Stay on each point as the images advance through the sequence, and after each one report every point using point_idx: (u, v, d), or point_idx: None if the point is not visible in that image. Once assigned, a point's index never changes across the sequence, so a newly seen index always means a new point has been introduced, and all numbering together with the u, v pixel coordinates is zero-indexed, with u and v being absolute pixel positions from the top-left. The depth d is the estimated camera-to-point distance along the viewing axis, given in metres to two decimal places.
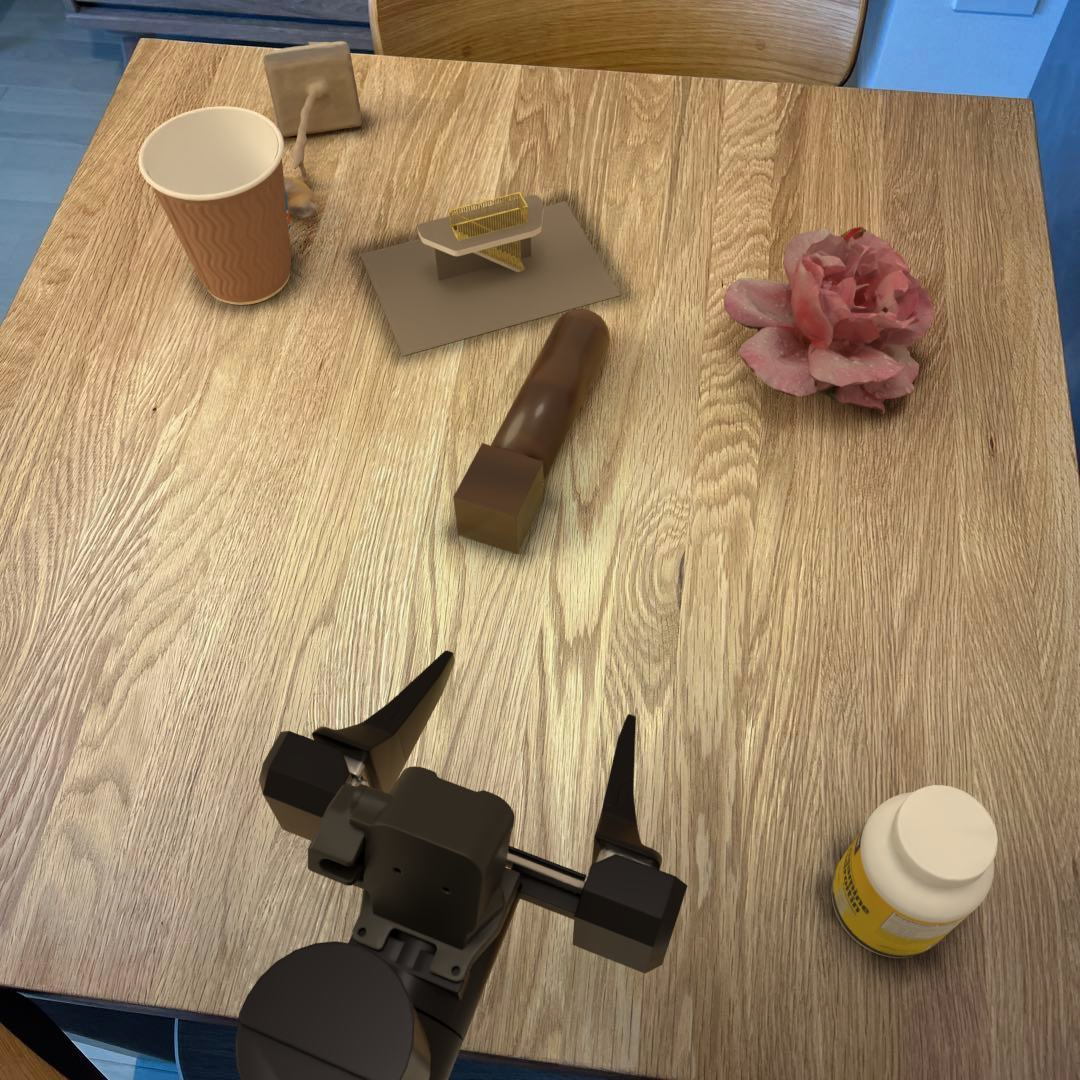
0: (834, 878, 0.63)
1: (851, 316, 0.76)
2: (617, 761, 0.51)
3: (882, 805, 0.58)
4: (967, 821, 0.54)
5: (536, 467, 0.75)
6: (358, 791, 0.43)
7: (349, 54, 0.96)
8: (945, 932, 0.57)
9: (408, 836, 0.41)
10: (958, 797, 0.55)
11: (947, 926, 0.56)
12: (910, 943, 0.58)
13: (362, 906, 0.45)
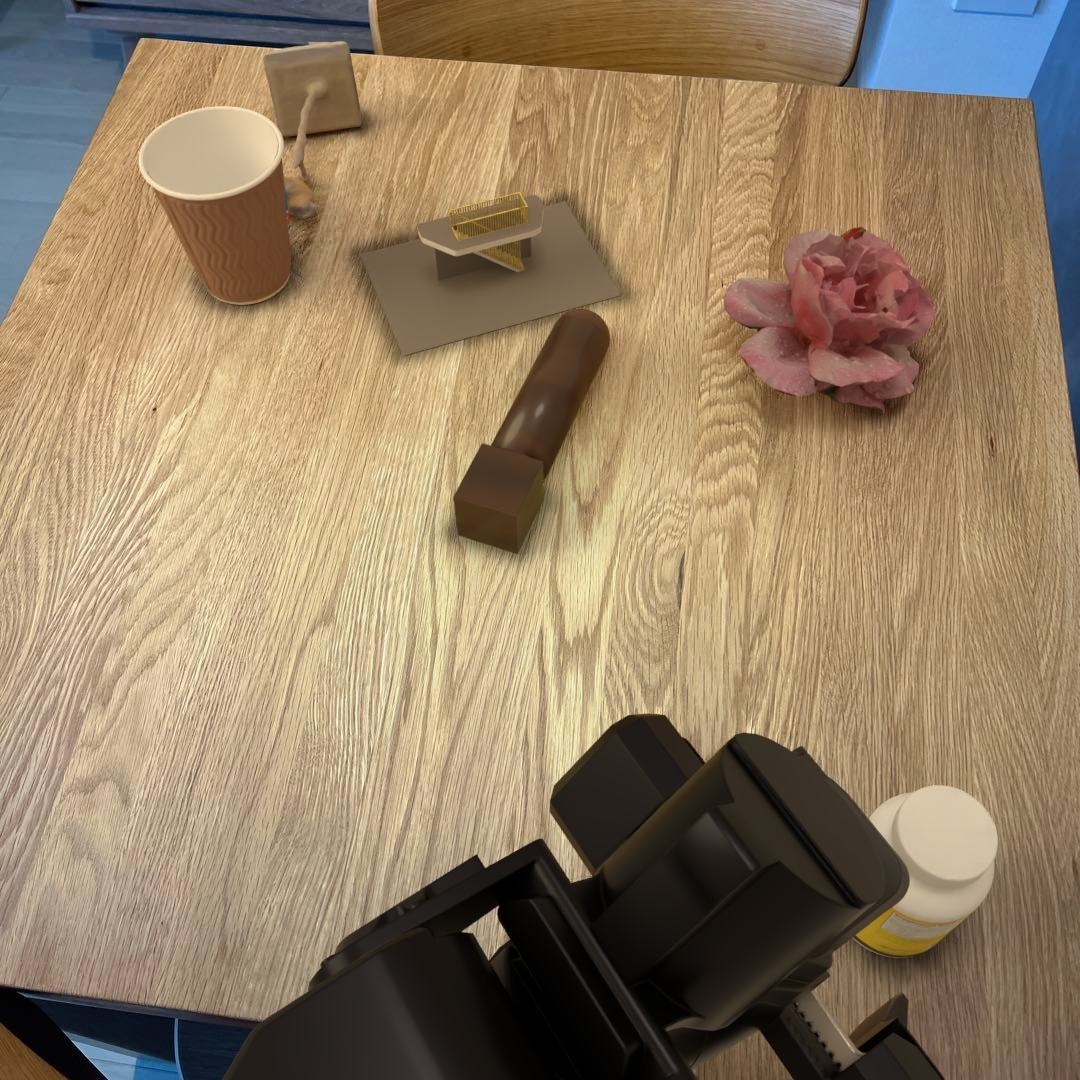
0: None
1: (851, 316, 0.76)
2: (894, 1008, 0.45)
3: (882, 805, 0.58)
4: (967, 821, 0.54)
5: (536, 467, 0.75)
6: (804, 749, 0.40)
7: (349, 54, 0.96)
8: (945, 932, 0.57)
9: (848, 805, 0.38)
10: (959, 797, 0.55)
11: (947, 926, 0.56)
12: (910, 943, 0.58)
13: None
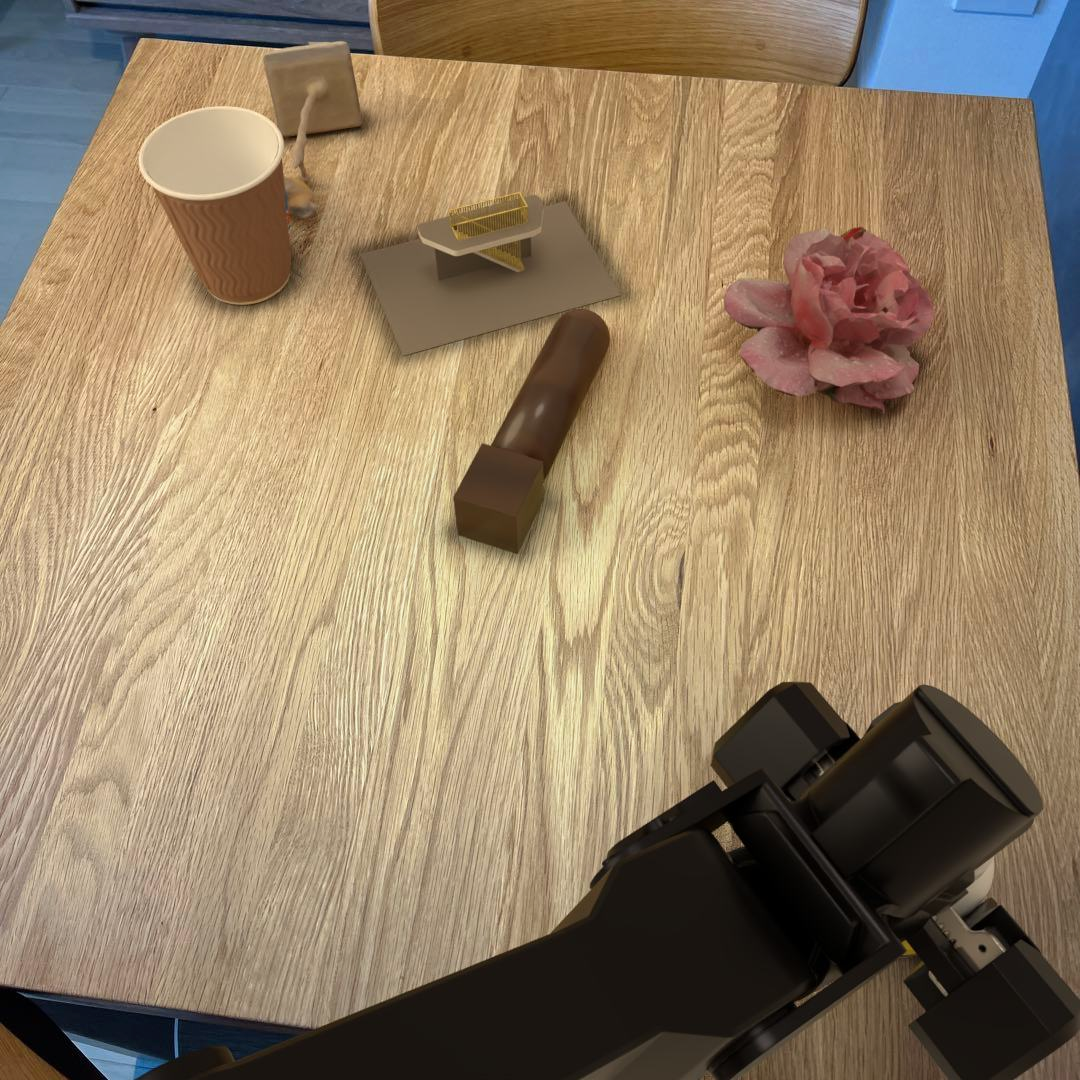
0: None
1: (851, 316, 0.76)
2: (989, 906, 0.54)
3: None
4: None
5: (536, 467, 0.75)
6: None
7: (349, 54, 0.96)
8: (945, 932, 0.57)
9: None
10: None
11: None
12: None
13: None
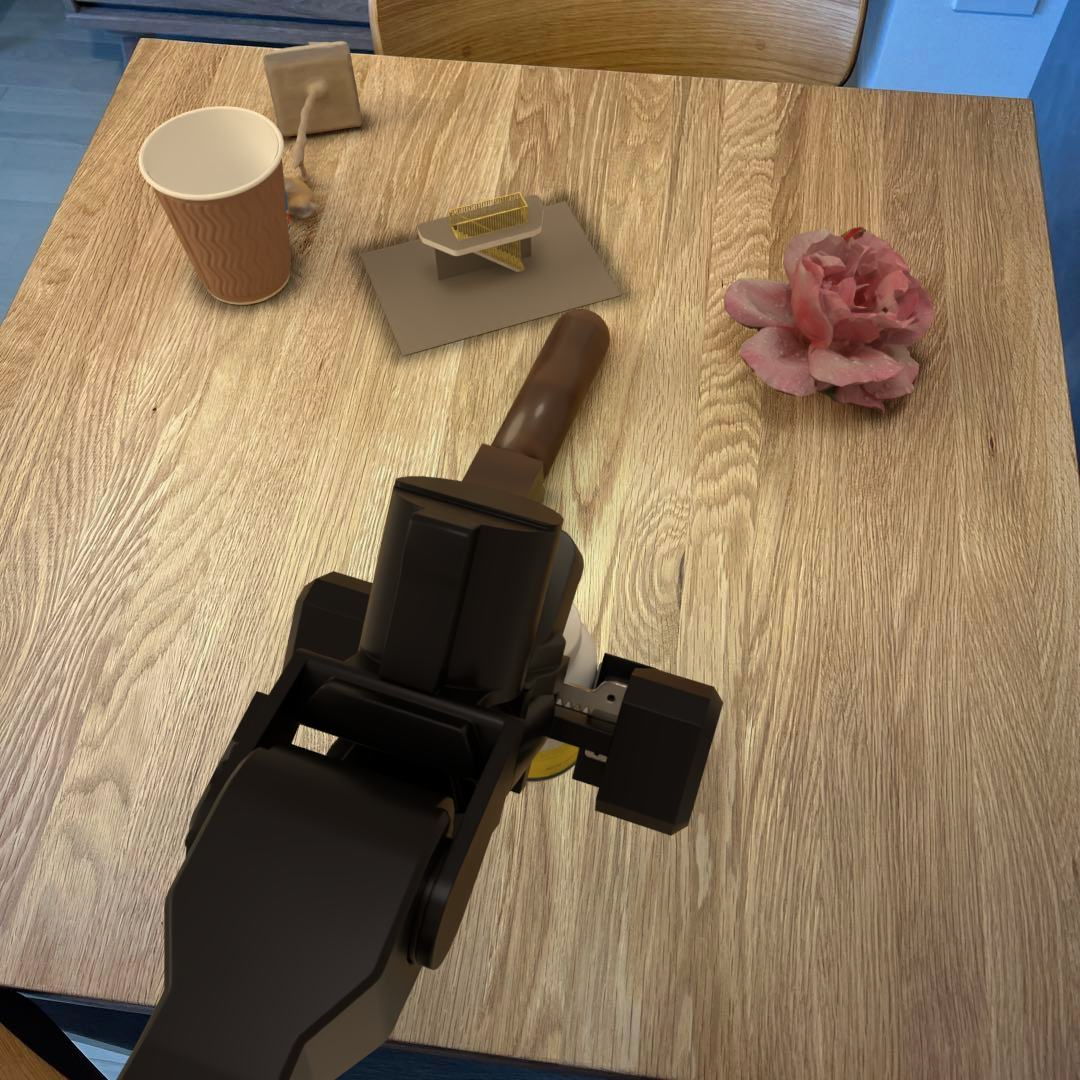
0: None
1: (851, 316, 0.76)
2: None
3: None
4: None
5: (536, 467, 0.75)
6: None
7: (349, 54, 0.96)
8: None
9: None
10: None
11: (584, 709, 0.55)
12: (567, 748, 0.57)
13: None
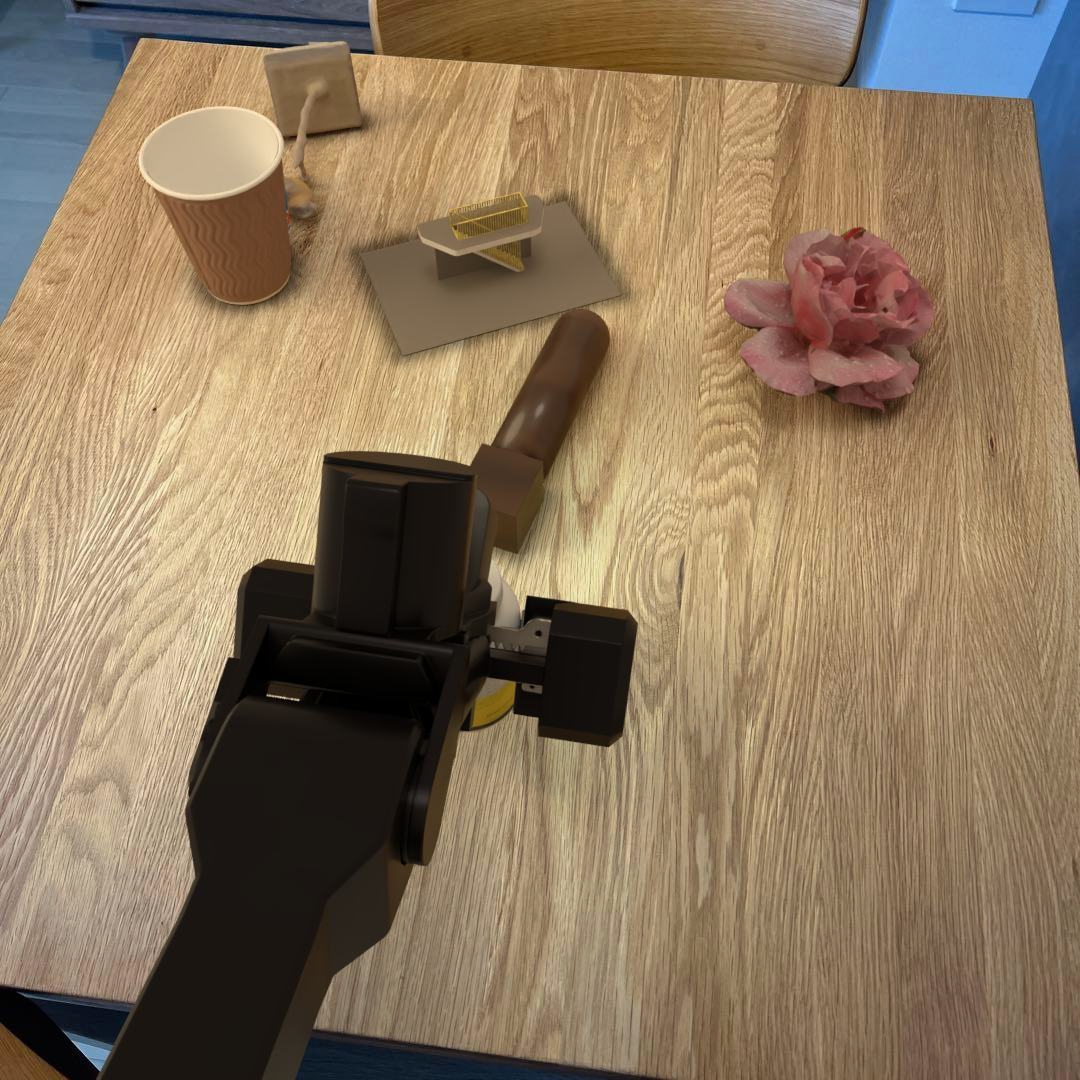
0: None
1: (851, 316, 0.76)
2: None
3: None
4: None
5: (536, 467, 0.75)
6: None
7: (349, 54, 0.96)
8: None
9: None
10: None
11: None
12: (503, 693, 0.62)
13: None
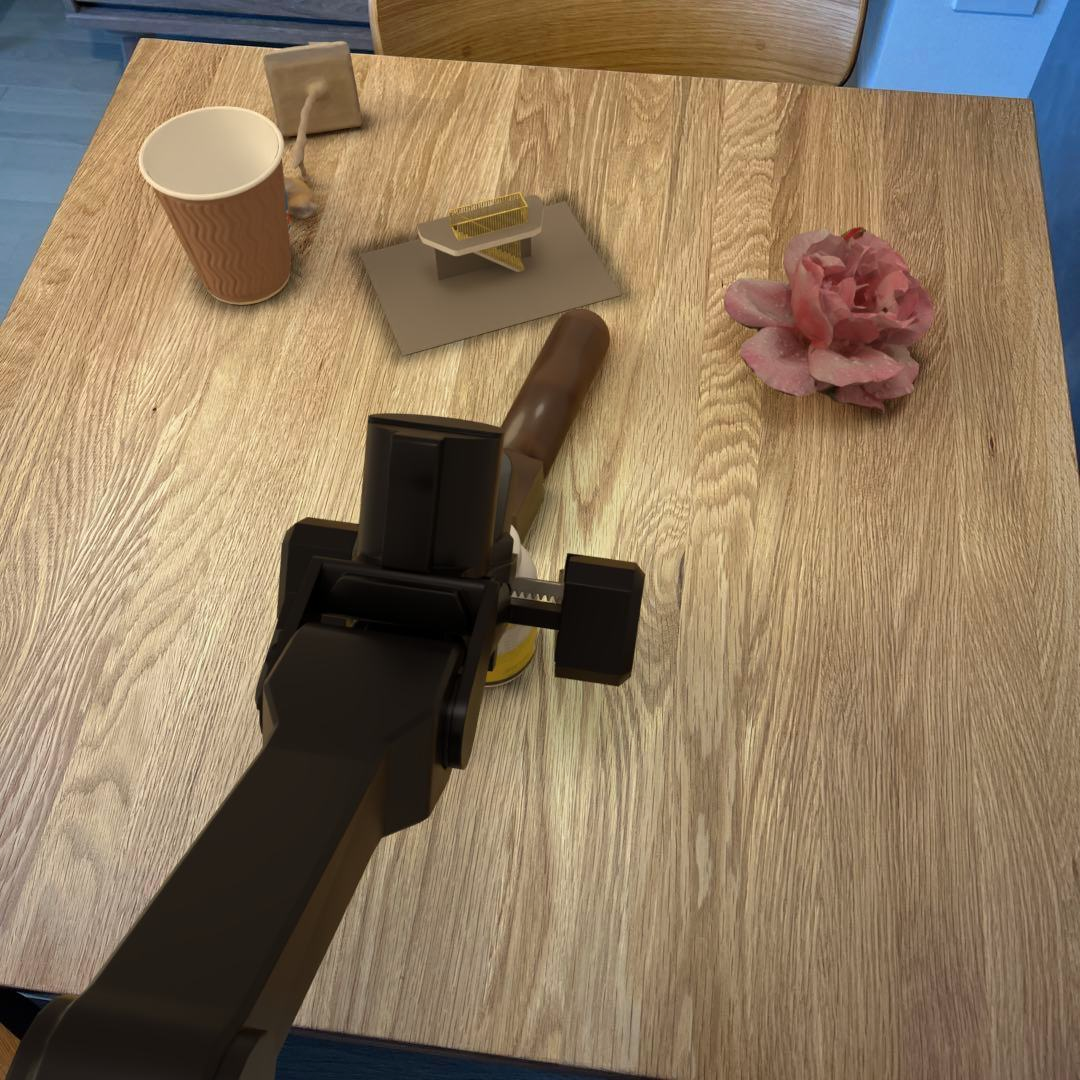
0: None
1: (851, 316, 0.76)
2: None
3: None
4: None
5: (536, 467, 0.75)
6: None
7: (349, 54, 0.96)
8: None
9: None
10: None
11: None
12: (520, 650, 0.68)
13: None
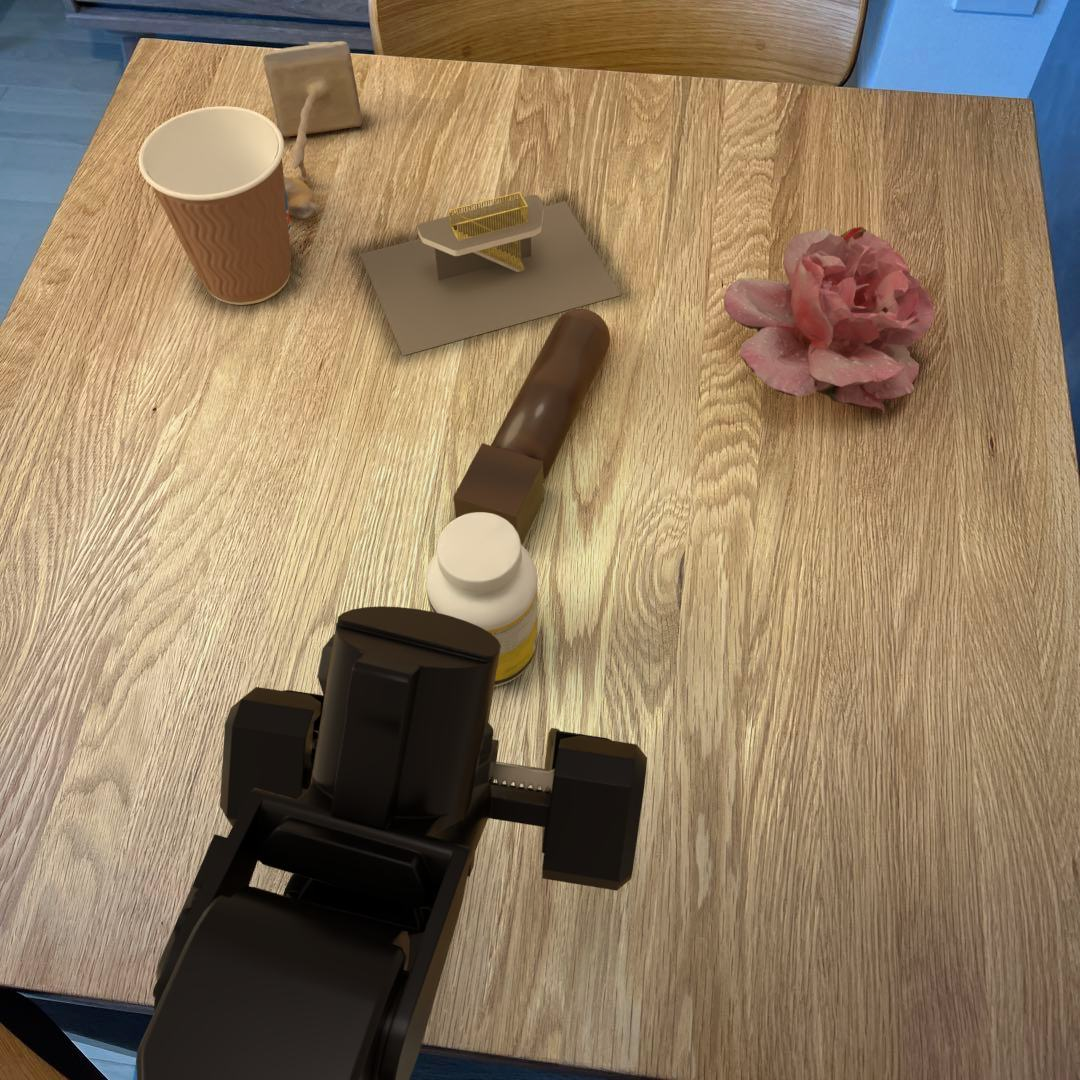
0: None
1: (851, 316, 0.76)
2: (553, 737, 0.56)
3: (427, 572, 0.66)
4: (485, 529, 0.63)
5: (536, 467, 0.75)
6: None
7: (349, 54, 0.96)
8: (534, 621, 0.68)
9: None
10: (467, 520, 0.64)
11: (530, 613, 0.66)
12: (520, 650, 0.68)
13: None
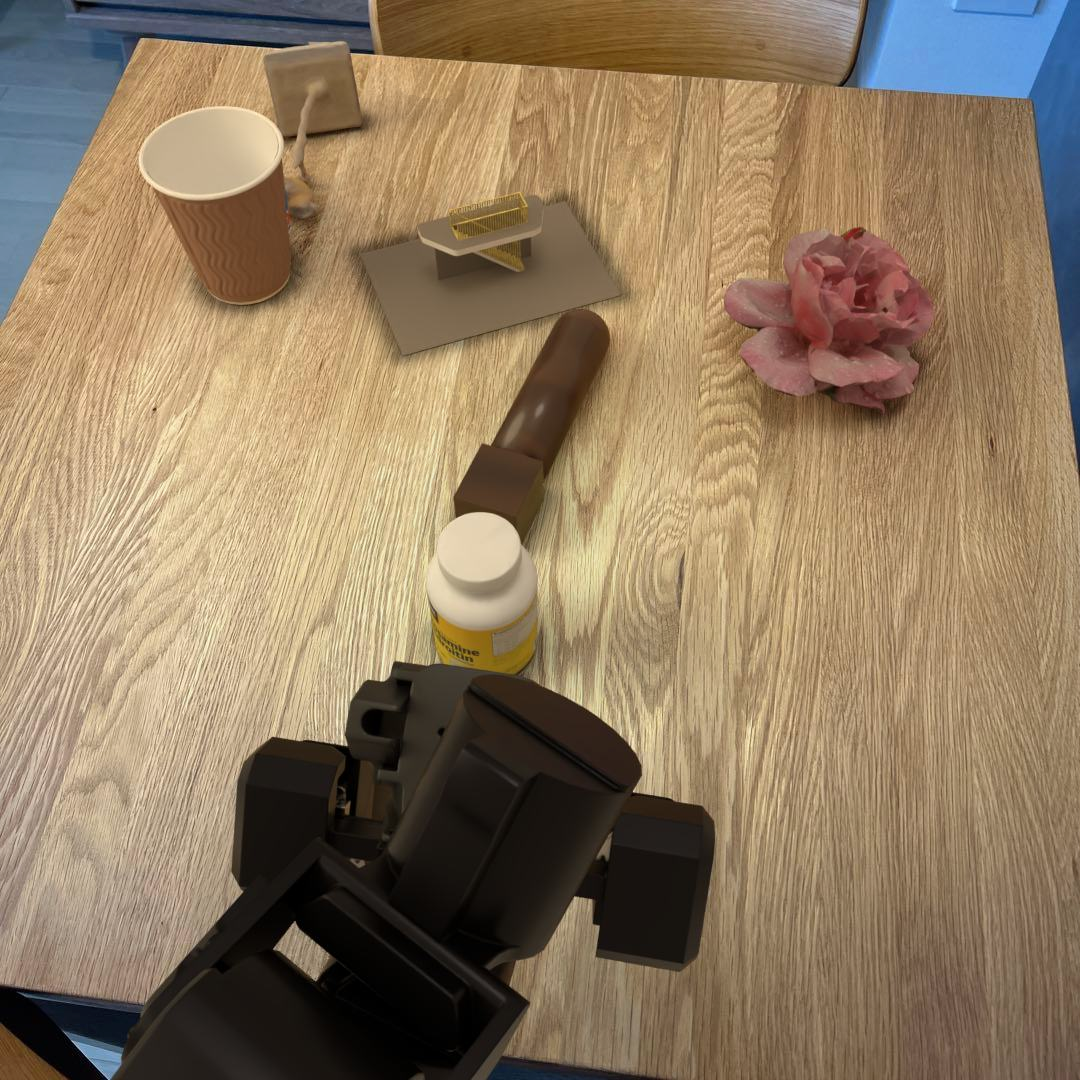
0: (441, 659, 0.70)
1: (851, 316, 0.76)
2: None
3: (427, 572, 0.66)
4: (485, 529, 0.63)
5: (536, 467, 0.75)
6: (398, 661, 0.42)
7: (349, 54, 0.96)
8: (534, 621, 0.68)
9: (461, 671, 0.41)
10: (468, 520, 0.64)
11: (531, 613, 0.66)
12: (520, 650, 0.68)
13: (388, 819, 0.40)
